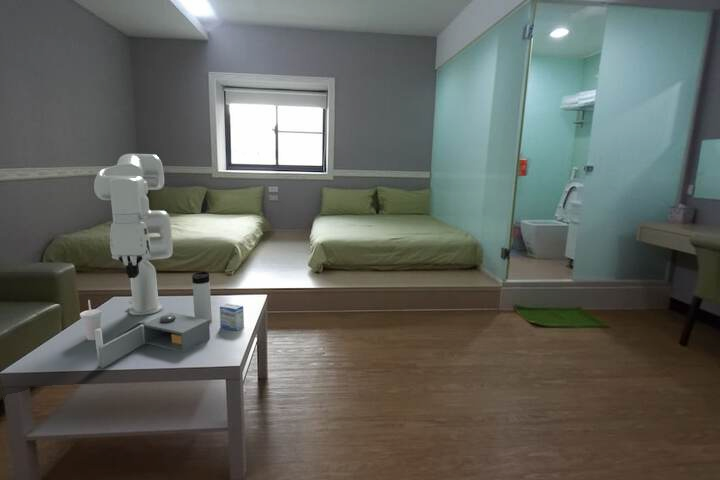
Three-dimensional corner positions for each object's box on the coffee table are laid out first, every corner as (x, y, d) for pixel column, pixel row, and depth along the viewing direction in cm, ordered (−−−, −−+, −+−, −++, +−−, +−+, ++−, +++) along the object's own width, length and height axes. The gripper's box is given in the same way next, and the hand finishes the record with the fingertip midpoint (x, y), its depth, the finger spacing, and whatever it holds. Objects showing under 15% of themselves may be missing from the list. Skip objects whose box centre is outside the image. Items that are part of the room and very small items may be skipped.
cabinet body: (144, 343, 136) (142, 321, 135) (172, 330, 147) (170, 309, 146) (184, 352, 130) (182, 329, 128) (210, 338, 141) (208, 317, 139)
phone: (156, 322, 153) (135, 338, 138) (156, 324, 153) (135, 341, 138) (137, 322, 153) (114, 338, 138) (138, 324, 153) (114, 340, 138)
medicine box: (220, 328, 150) (218, 306, 148) (227, 323, 154) (226, 302, 152) (237, 331, 147) (236, 309, 146) (244, 326, 151) (243, 305, 150)
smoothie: (102, 332, 144) (97, 296, 141) (106, 338, 139) (102, 300, 137) (81, 337, 140) (76, 300, 137) (84, 343, 135) (80, 305, 132)
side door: (138, 342, 136) (135, 310, 134) (145, 343, 136) (142, 310, 134) (95, 367, 119) (91, 331, 117) (103, 368, 119) (99, 332, 116)
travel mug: (215, 318, 158) (212, 271, 155) (207, 325, 152) (204, 275, 148) (200, 318, 159) (197, 270, 155) (191, 324, 153) (188, 275, 149)
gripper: (158, 217, 123) (162, 273, 126) (107, 216, 121) (113, 273, 124) (149, 220, 115) (154, 280, 119) (94, 220, 113) (101, 281, 117)
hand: (133, 276), depth 122 cm, fingers closed
